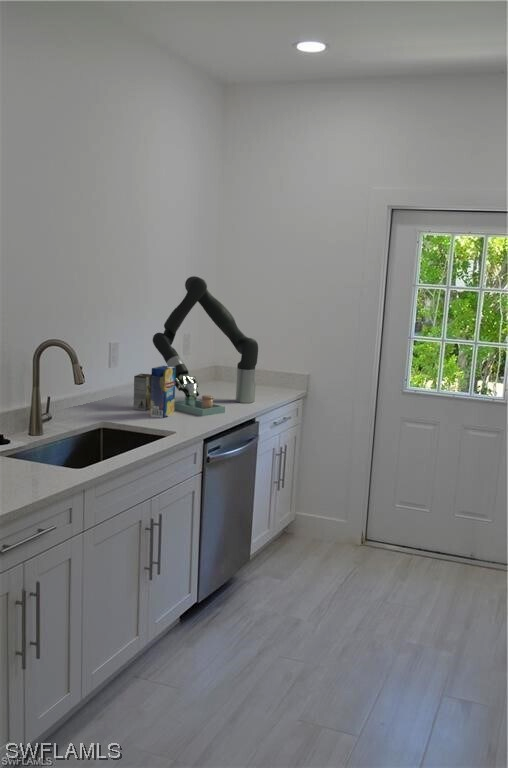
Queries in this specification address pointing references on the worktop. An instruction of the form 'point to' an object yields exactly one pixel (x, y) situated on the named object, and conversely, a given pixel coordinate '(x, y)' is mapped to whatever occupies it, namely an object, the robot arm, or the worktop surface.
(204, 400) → the pestle
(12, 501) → the worktop surface
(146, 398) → the coffee box
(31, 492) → the worktop surface
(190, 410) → the tray
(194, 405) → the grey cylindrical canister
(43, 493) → the worktop surface
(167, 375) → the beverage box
